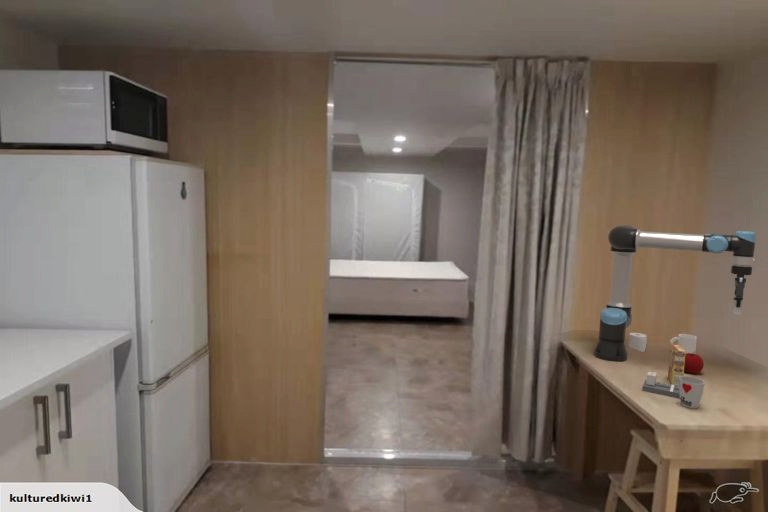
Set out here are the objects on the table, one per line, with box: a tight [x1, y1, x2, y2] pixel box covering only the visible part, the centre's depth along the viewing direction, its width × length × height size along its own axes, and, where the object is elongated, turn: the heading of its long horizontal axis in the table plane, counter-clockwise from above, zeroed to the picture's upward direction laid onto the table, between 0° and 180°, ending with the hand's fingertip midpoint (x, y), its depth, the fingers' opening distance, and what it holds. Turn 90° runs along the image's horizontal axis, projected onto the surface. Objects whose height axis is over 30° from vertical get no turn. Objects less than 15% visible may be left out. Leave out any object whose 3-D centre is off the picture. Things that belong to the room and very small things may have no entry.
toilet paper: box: [627, 332, 648, 353], centre depth 258 cm, size 8×11×7 cm
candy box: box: [667, 344, 686, 386], centre depth 208 cm, size 9×4×15 cm, turn 162°
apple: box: [684, 352, 704, 375], centre depth 222 cm, size 9×9×10 cm
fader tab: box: [646, 371, 658, 386], centre depth 200 cm, size 3×5×4 cm, turn 146°
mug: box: [669, 333, 698, 354], centre depth 249 cm, size 12×9×10 cm
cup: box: [679, 375, 705, 409], centre depth 184 cm, size 8×8×10 cm
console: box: [641, 379, 680, 399], centre depth 197 cm, size 18×9×4 cm, turn 56°
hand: (736, 311), depth 223 cm, fingers open, 13 cm apart
